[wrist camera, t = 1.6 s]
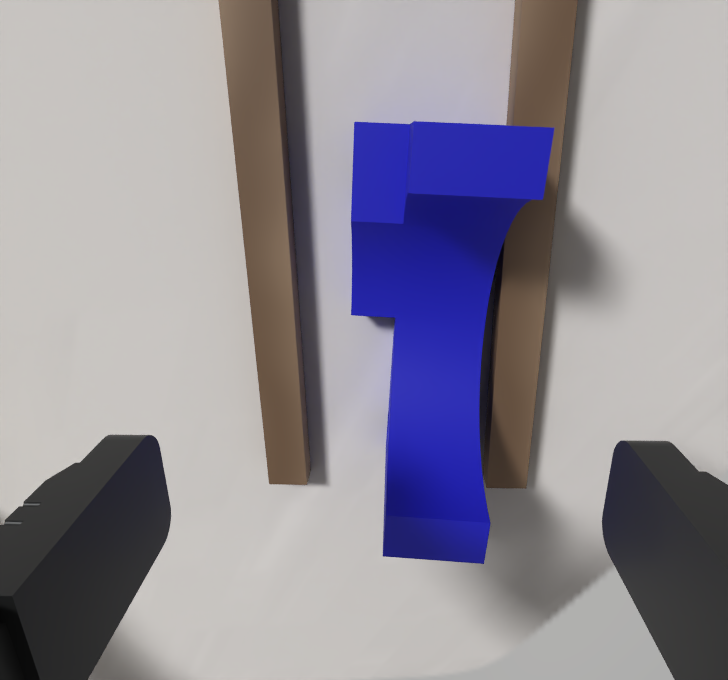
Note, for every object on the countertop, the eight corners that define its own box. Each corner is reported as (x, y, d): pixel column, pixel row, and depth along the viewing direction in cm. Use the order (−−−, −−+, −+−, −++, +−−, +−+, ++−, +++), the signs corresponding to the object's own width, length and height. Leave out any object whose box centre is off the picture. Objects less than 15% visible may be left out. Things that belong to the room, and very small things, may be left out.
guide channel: (640, -506, 12) (801, -930, 7) (533, 473, 21) (571, 568, 16) (161, -460, 12) (21, -816, 8) (262, 469, 22) (226, 559, 17)
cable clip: (361, 124, 17) (344, 118, 11) (501, 130, 17) (554, 127, 11) (349, 443, 21) (332, 552, 16) (460, 450, 21) (483, 563, 16)
